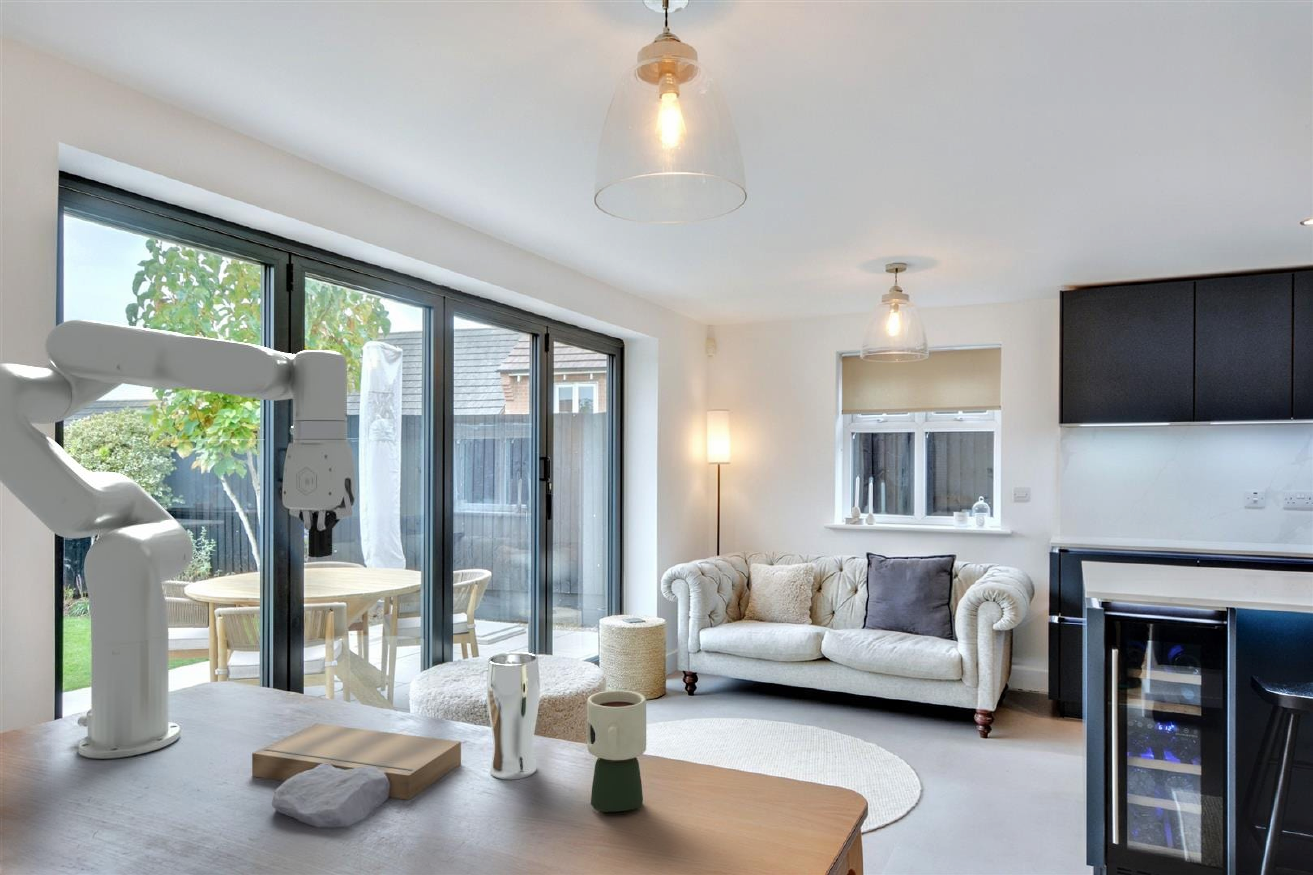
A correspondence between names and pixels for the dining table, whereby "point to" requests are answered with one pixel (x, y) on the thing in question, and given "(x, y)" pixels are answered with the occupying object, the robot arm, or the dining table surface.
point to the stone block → (332, 795)
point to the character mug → (616, 748)
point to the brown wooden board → (361, 756)
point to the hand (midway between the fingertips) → (320, 555)
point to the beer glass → (513, 713)
